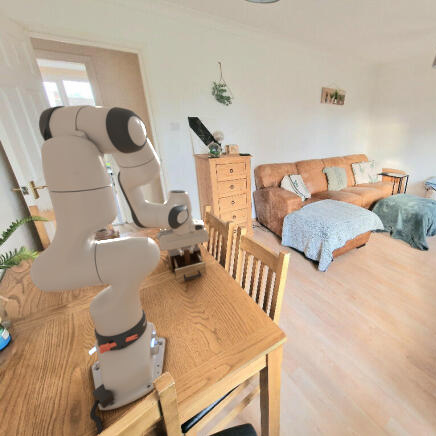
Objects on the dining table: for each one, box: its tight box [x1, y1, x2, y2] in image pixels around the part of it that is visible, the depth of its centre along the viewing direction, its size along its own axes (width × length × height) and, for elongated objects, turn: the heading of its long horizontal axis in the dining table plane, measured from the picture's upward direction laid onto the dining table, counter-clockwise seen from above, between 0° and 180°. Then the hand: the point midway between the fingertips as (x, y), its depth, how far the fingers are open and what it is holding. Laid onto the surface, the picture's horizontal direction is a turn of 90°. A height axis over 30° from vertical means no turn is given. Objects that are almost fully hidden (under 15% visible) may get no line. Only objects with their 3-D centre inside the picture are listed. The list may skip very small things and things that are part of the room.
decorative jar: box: [94, 227, 121, 241], centre depth 113 cm, size 12×12×18 cm
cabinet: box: [166, 244, 203, 273], centre depth 120 cm, size 17×14×9 cm
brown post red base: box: [184, 248, 191, 266], centre depth 109 cm, size 6×6×11 cm
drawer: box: [173, 252, 207, 284], centre depth 110 cm, size 20×12×7 cm, turn 32°
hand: (186, 254), depth 108 cm, fingers closed
